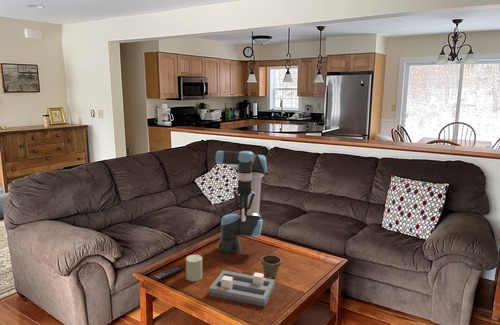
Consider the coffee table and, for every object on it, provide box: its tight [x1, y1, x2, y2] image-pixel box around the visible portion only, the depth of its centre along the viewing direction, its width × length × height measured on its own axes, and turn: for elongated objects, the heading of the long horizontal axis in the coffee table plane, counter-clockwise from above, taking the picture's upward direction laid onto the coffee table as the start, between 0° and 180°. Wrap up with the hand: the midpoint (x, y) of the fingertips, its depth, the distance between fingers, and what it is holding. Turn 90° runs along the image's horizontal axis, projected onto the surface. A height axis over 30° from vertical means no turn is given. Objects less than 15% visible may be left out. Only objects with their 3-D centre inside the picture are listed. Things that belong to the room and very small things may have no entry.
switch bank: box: [208, 269, 276, 308], centre depth 197 cm, size 20×30×4 cm, turn 73°
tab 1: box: [221, 276, 233, 289], centre depth 194 cm, size 4×5×6 cm
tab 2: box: [252, 272, 265, 286], centre depth 198 cm, size 4×5×6 cm
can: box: [185, 254, 203, 282], centre depth 208 cm, size 9×9×12 cm
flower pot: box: [260, 254, 282, 279], centre depth 213 cm, size 12×11×10 cm
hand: (243, 220), depth 208 cm, fingers closed
